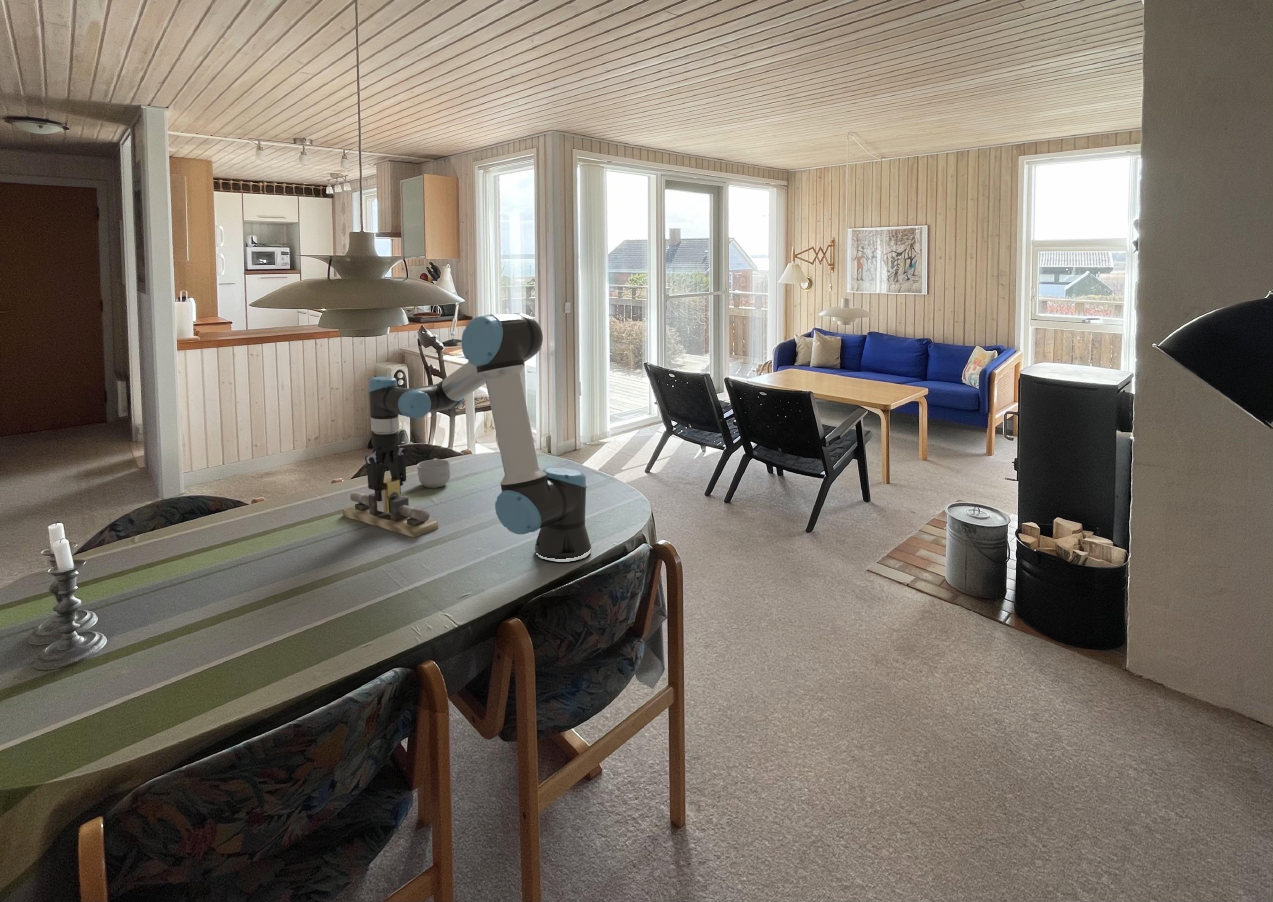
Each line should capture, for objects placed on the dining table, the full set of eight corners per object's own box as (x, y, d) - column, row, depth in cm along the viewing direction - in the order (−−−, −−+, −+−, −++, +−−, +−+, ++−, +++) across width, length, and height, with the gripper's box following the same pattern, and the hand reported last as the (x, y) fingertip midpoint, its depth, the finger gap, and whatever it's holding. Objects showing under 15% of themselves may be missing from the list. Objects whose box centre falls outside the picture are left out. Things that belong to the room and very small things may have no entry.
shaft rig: (437, 528, 218) (437, 502, 216) (414, 537, 210) (413, 510, 208) (367, 508, 233) (365, 483, 231) (342, 516, 225) (341, 490, 223)
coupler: (401, 509, 221) (399, 479, 219) (389, 513, 217) (387, 483, 215) (389, 506, 223) (388, 477, 221) (377, 510, 220) (375, 480, 217)
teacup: (445, 490, 252) (445, 467, 250) (413, 489, 252) (412, 466, 250) (456, 478, 266) (455, 457, 264) (425, 477, 266) (424, 455, 264)
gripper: (399, 424, 224) (402, 498, 230) (350, 434, 209) (355, 514, 215) (417, 427, 220) (420, 503, 226) (369, 438, 205) (373, 519, 211)
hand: (388, 508), depth 220 cm, fingers closed on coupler, 4 cm apart
